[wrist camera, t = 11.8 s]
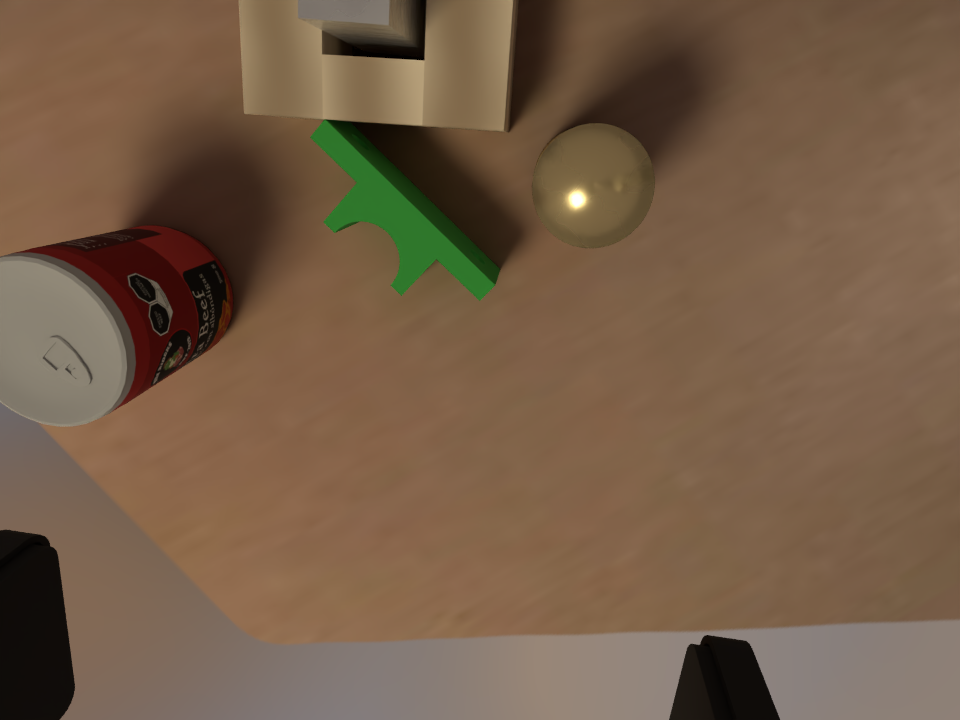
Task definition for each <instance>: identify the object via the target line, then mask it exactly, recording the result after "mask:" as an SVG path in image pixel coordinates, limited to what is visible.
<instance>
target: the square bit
mask: <svg viewBox="0 0 960 720" xmlns="http://www.w3.org/2000/svg"><path fill="white" fill-rule="evenodd" d="M426 1H427V0H298V18H299V19H301V20H303V21H305V22H307V23H309V24H311V25H313V26H315V27H317V28H319V29H321V30H323V31H325V32H327V33H329V34H331V35H333V36H335V37H337V38H339V39H341V40H343V41H345V42H347V43H349V44H351V45H353V46H355V47H357V48H359V49H361V50H363V51H365V52H370V53H382V54H394V55H406V56H418V57H425V31H426Z"/></svg>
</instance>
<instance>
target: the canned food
mask: <svg viewBox="0 0 960 720" xmlns="http://www.w3.org/2000/svg"><path fill="white" fill-rule="evenodd" d="M232 310H233V293H232V289H231V284H230V281H229V279H228V276H227V274H226V271H225V269H224V268H223V266H222V265H221V263H220V262H219V260H218V259H217V258H216V256H215V255H214V254H213V253H212V252H211V251H210V250H209V249H208V248H207V247H206V246H205V245H203V244H202V243H201V242H200V241H198V240H197V239H195V238H193V237H191V236H190V235H188V234H186V233H183V232H180V231H177V230H174V229H171V228H168V227H162V226H155V225H151V226H139V227H134V228H129V229H124V230H119V231H115V232H110V233H105V234H100V235H95V236H90V237H85V238H81V239H76V240H71V241H66V242H61V243H56V244H52V245H47V246H42V247H37V248H32V249H29V250H25V251H21V252H16V253H12V254H8V255H5V256H1V257H0V402H1V403H2V404H4V405H5V406H6V407H8V408H9V409H10V410H12V411H14V412H16V413H18V414H20V415H21V416H23V417H25V418H27V419H30V420H33V421H36V422H39V423H42V424H47V425H53V426H59V427H60V426H78V425H82V424H86V423H90V422H92V421H94V420H96V419H99V418H101V417H103V416H105V415H107V414H109V413H111V412H112V411H114V410H116V409H117V408H119V407H120V406H122V405H124V404H126V403H128V402H129V401H131V400H132V399H134V398H135V397H137V396H138V395H140V394H142V393H143V392H145V391H146V390H148V389H149V388H151V387H152V386H154V385H155V384H157V383H159V382H160V381H162V380H163V379H165V378H166V377H168V376H169V375H171V374H173V373H174V372H176V371H177V370H179V369H180V368H182V367H183V366H185V365H187V364H188V363H190V362H191V361H193V360H194V359H196V358H197V357H199V356H201V355H202V354H204V353H205V352H207V351H208V350H210V349H211V348H212V347H213V346H214V345H216V344H217V343H218V342H219V340H220V339H221V338H222V336H223V335H224V333H225V331H226V329H227V326H228V324H229V322H230V319H231V316H232Z"/></svg>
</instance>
